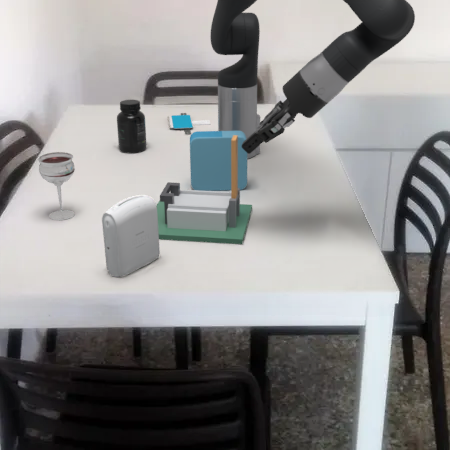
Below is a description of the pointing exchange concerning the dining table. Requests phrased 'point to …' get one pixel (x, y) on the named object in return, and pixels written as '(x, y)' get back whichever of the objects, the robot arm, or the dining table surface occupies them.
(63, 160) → the wineglass
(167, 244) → the dining table surface
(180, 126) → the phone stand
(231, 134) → the blue rounded block
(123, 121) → the supplement bottle
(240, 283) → the dining table surface
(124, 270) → the photo printer
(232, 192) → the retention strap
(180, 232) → the processor board
